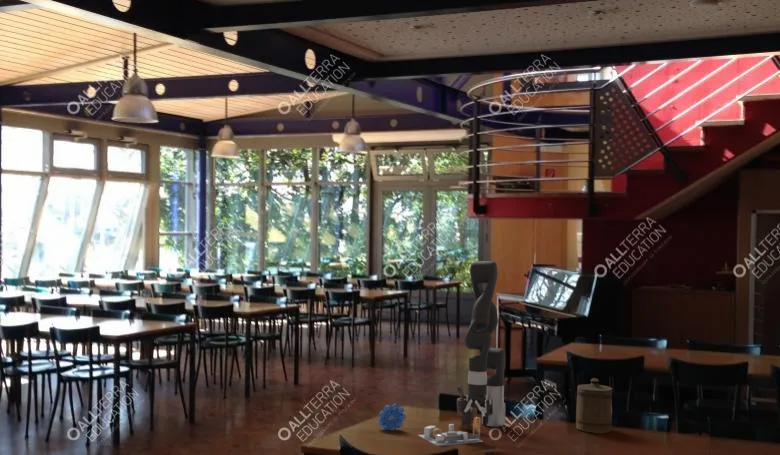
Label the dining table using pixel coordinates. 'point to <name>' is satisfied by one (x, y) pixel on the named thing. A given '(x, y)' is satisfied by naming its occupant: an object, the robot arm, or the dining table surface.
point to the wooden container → (594, 407)
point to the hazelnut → (436, 432)
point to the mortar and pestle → (462, 413)
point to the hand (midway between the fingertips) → (476, 423)
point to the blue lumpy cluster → (391, 417)
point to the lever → (454, 436)
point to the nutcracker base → (431, 439)
